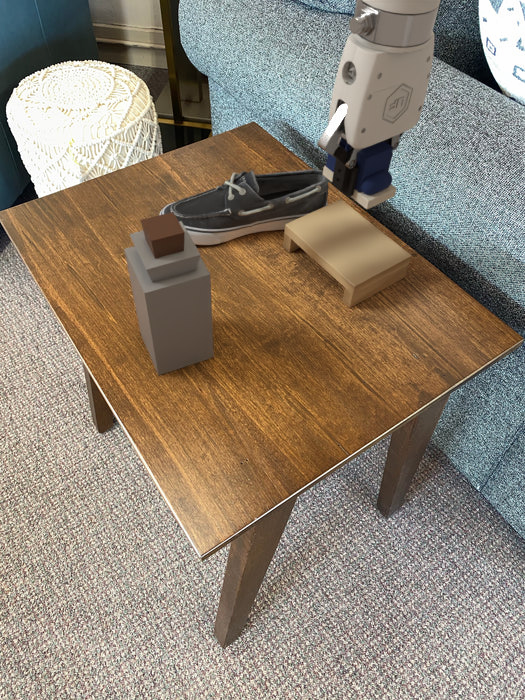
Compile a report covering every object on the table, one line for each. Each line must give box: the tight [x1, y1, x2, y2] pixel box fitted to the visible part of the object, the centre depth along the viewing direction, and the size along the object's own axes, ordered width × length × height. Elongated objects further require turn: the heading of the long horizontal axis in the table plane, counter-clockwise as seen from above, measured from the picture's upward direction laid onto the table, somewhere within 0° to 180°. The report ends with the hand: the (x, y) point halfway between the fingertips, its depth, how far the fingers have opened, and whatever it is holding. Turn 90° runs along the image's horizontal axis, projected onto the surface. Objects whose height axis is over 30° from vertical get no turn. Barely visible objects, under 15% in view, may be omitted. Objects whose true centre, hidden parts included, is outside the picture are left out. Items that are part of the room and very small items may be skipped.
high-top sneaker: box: [323, 141, 397, 210], centre depth 66 cm, size 8×4×6 cm, turn 36°
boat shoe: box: [159, 168, 330, 246], centre depth 79 cm, size 24×9×8 cm, turn 101°
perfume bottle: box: [123, 212, 214, 376], centre depth 60 cm, size 7×7×18 cm
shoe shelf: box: [282, 199, 412, 309], centre depth 76 cm, size 14×10×4 cm
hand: (359, 181), depth 68 cm, fingers closed on high-top sneaker, 4 cm apart
